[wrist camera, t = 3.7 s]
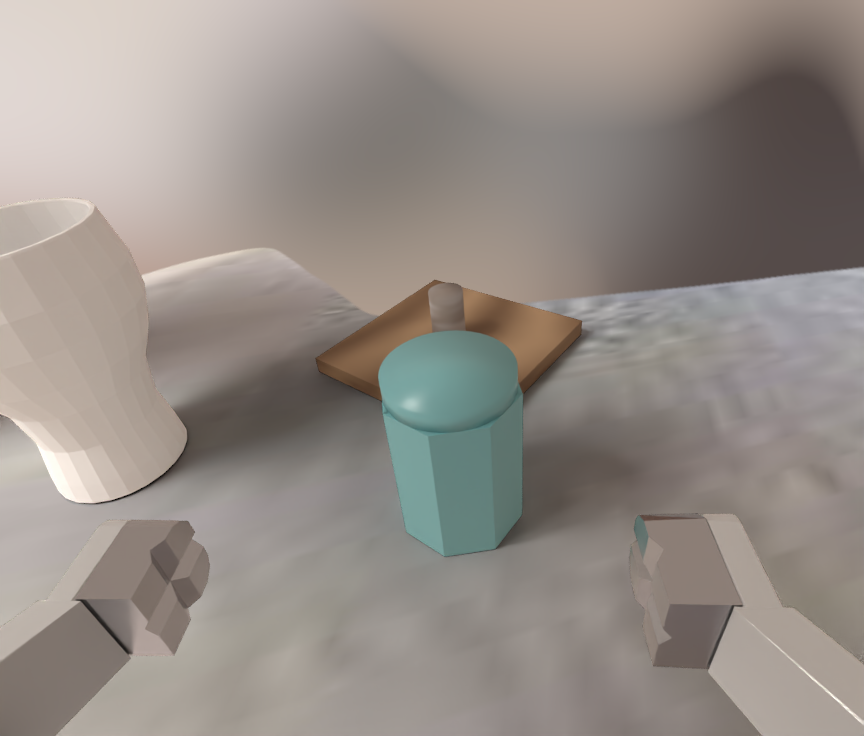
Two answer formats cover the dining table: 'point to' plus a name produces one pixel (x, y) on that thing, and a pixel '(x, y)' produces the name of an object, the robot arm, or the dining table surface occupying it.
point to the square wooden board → (446, 311)
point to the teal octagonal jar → (455, 438)
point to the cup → (80, 351)
